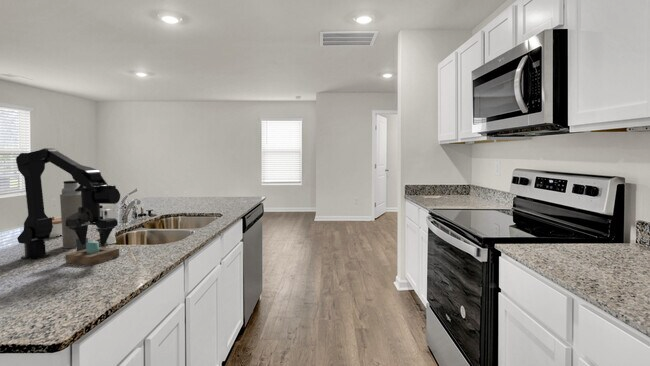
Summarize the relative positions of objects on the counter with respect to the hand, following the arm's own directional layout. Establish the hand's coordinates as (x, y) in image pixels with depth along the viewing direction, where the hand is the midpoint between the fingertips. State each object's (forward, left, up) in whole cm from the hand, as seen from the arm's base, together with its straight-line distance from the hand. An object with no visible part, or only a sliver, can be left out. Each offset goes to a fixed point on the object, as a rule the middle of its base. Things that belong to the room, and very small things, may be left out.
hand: (92, 245), depth 141 cm
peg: (0, 0, -5) cm, 5 cm away
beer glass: (-17, +23, -6) cm, 29 cm away
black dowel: (-12, +6, -5) cm, 15 cm away
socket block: (0, 0, -5) cm, 5 cm away
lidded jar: (-55, +28, -6) cm, 62 cm away
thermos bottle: (-27, +15, -6) cm, 31 cm away
